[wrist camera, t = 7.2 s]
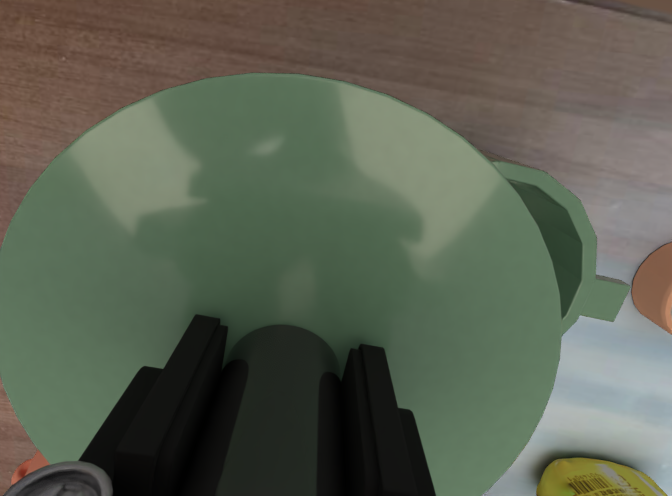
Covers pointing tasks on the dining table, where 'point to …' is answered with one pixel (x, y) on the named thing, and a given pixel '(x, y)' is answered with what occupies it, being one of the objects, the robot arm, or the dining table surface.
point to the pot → (565, 243)
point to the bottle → (594, 479)
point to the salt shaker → (655, 288)
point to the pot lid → (281, 281)
